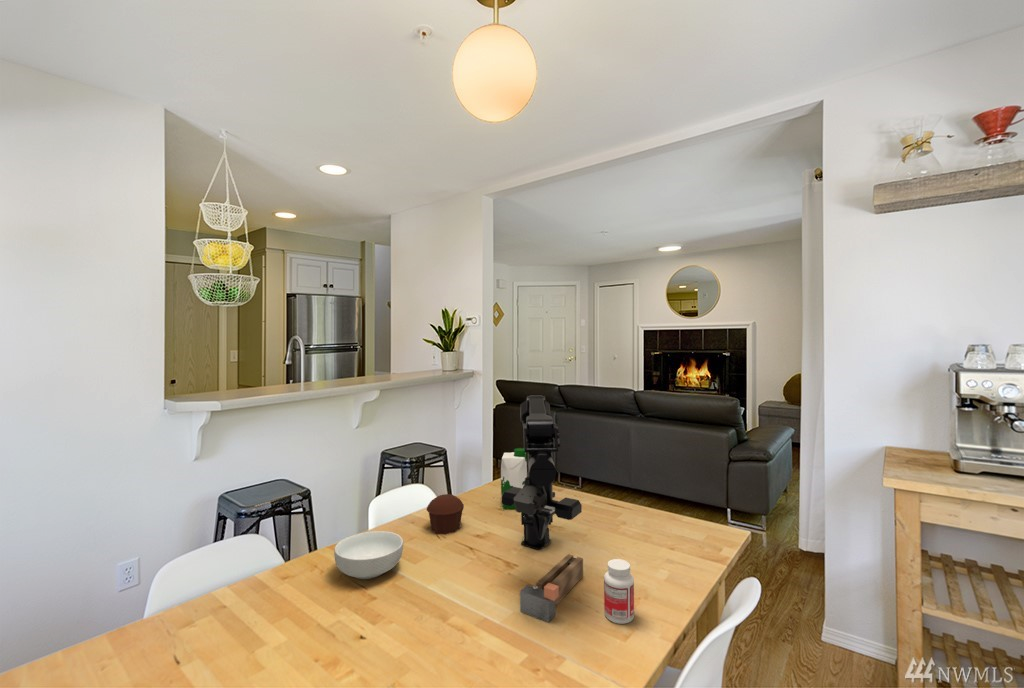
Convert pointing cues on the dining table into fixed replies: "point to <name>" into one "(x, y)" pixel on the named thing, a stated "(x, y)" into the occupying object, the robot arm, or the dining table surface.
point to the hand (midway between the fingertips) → (540, 538)
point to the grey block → (536, 603)
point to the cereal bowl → (368, 553)
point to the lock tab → (551, 591)
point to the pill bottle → (619, 592)
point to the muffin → (445, 514)
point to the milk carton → (513, 471)
